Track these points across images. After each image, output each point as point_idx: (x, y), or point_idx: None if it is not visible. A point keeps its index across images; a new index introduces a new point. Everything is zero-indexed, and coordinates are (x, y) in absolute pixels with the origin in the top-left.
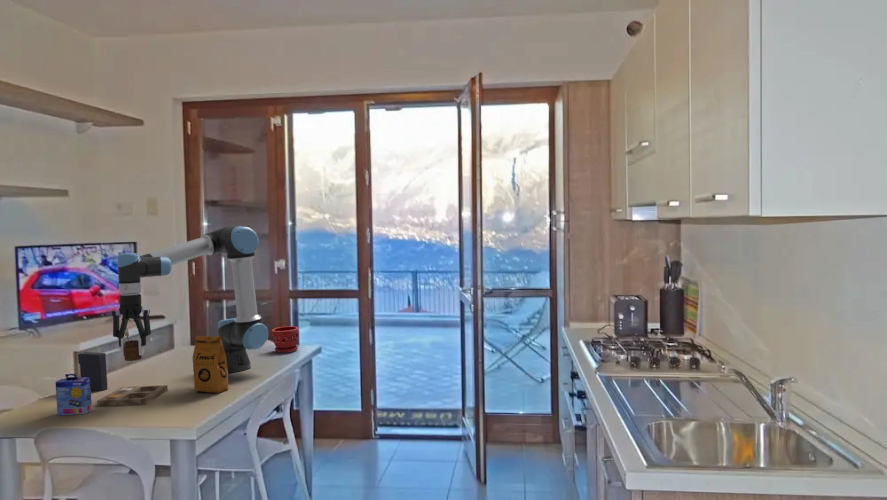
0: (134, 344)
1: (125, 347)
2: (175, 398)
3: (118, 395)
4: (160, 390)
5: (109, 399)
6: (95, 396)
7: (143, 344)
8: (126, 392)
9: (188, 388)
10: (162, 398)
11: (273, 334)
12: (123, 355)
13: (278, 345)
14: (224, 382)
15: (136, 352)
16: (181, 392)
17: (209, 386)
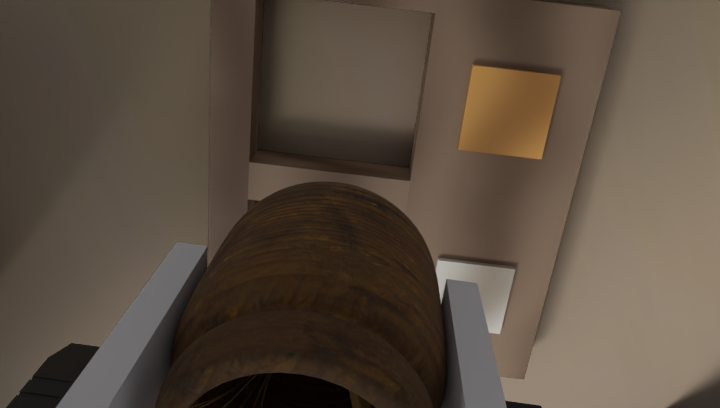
0: (209, 334)
1: (402, 322)
2: (61, 82)
3: (476, 116)
4: (210, 230)
5: (522, 23)
6: (677, 292)
7: (66, 364)
8: (445, 216)
9: (89, 327)
10: (163, 108)
11: None
12: (448, 281)
13: None
14: None
15: (222, 251)
16: (92, 239)
17: None
